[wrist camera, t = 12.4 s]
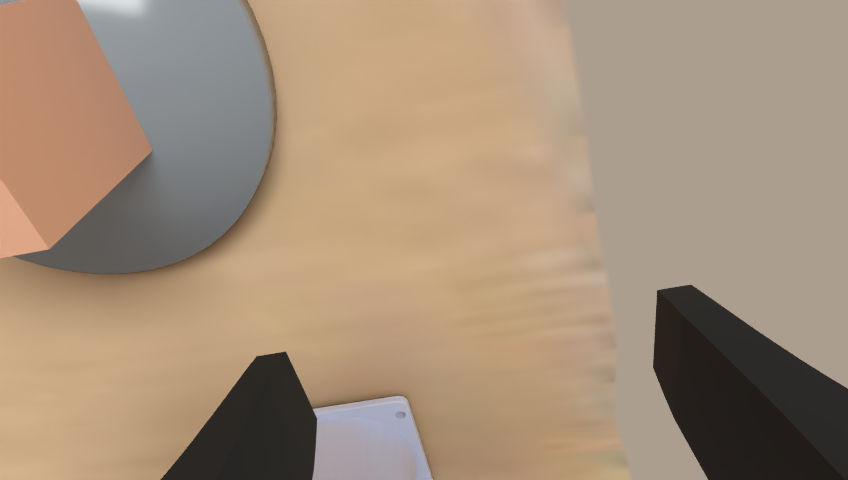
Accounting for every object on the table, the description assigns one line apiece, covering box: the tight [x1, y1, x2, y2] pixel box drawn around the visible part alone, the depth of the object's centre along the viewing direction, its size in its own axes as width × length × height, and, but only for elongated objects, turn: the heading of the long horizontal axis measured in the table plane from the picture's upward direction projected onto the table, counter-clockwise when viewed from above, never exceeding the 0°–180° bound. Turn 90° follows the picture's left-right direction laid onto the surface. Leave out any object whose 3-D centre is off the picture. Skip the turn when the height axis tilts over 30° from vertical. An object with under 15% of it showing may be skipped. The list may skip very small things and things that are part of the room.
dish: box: [0, 0, 277, 274], centre depth 17 cm, size 14×14×1 cm
